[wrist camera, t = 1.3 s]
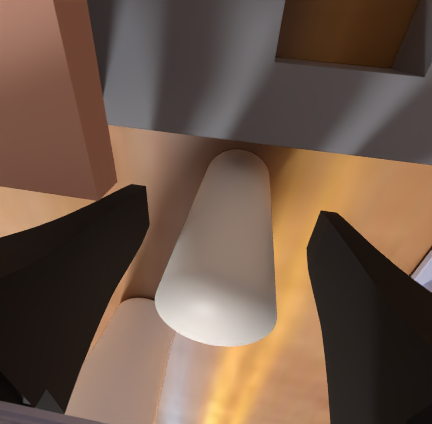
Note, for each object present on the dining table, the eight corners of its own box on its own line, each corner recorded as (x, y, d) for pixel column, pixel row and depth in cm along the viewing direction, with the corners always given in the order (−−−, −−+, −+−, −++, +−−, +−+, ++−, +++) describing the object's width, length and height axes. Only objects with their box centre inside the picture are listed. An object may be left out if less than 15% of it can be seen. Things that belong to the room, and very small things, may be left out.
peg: (275, 154, 12) (290, 283, 6) (263, 210, 14) (263, 354, 8) (207, 145, 13) (150, 260, 6) (204, 202, 15) (158, 334, 8)
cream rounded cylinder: (118, 329, 24) (-26, 623, 12) (103, 282, 21) (-130, 644, 8) (187, 341, 24) (109, 664, 12) (185, 295, 20) (63, 709, 8)
